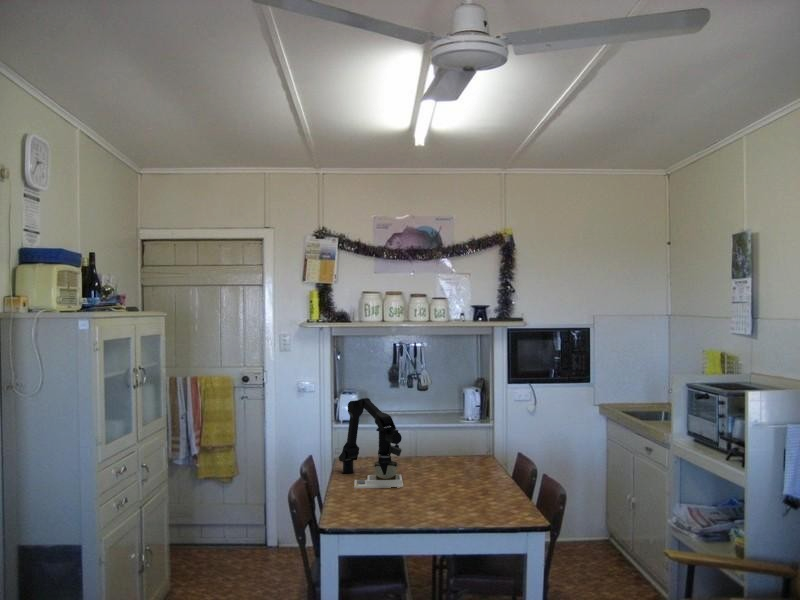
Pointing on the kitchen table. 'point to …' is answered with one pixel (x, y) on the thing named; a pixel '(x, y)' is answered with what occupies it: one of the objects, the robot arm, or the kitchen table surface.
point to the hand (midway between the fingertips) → (384, 472)
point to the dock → (378, 482)
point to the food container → (389, 474)
